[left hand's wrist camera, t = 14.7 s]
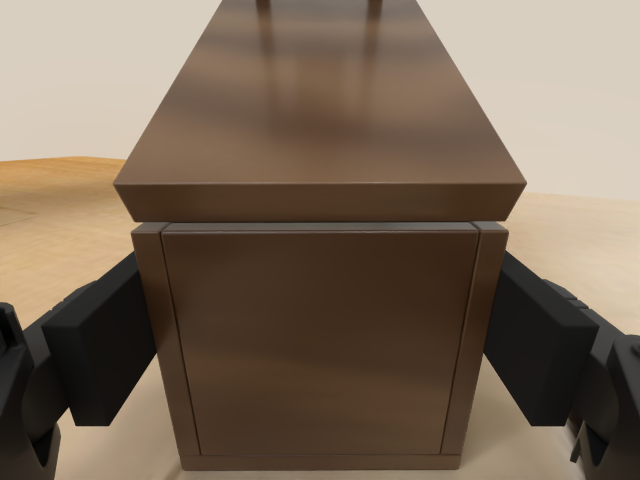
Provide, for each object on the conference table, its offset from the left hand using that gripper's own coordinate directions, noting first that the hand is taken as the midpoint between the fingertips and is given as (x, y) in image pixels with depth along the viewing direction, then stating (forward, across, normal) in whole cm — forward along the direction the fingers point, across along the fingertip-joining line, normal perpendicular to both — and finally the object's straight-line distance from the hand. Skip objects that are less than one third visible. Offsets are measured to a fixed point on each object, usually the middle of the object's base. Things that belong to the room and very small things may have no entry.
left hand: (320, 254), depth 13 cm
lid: (+4, 0, +7) cm, 8 cm away
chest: (+4, 0, -6) cm, 8 cm away
